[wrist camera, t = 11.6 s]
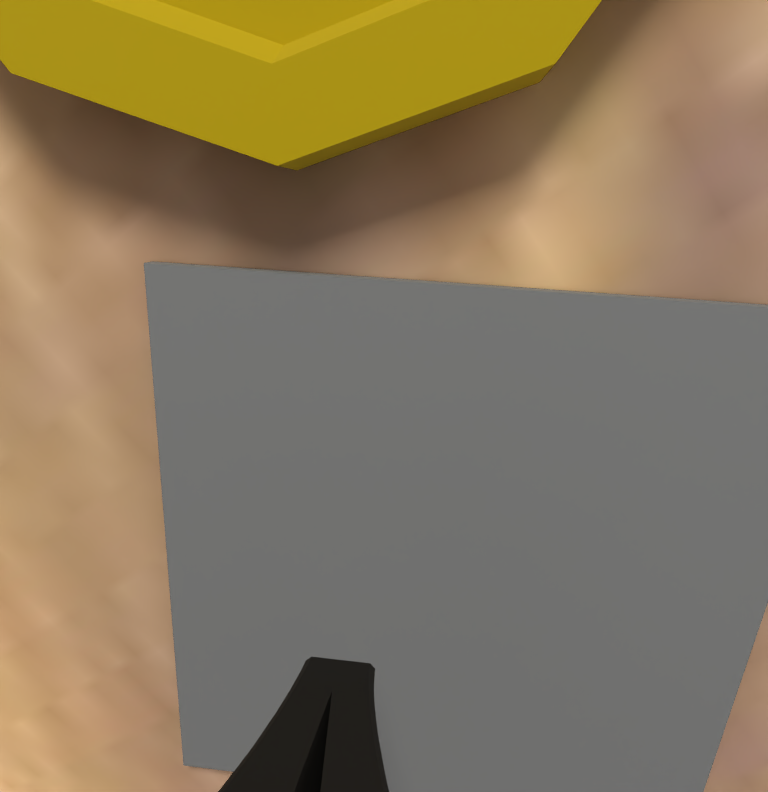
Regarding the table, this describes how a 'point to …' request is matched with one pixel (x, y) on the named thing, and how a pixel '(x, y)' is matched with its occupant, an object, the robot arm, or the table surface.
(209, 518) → the mat
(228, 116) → the decorative disc
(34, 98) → the table surface
